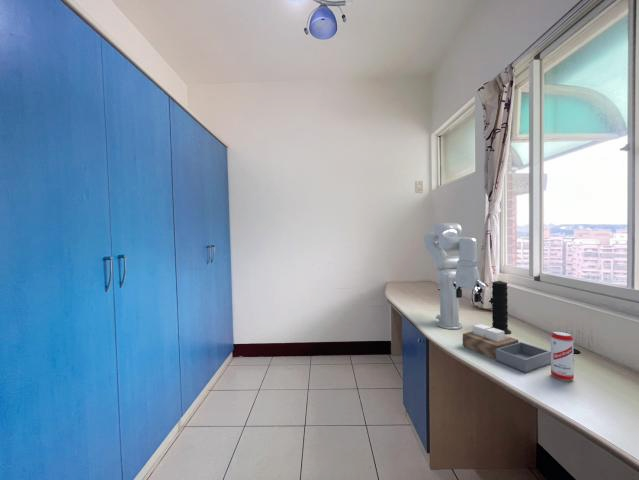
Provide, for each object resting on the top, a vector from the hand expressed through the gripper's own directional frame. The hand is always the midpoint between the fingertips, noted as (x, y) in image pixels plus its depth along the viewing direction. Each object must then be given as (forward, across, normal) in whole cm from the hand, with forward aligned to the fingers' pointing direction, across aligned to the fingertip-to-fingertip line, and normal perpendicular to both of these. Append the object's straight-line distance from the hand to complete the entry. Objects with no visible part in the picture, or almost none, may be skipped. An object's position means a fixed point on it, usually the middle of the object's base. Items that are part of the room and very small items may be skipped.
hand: (467, 299), depth 136 cm
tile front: (+14, +13, 0) cm, 19 cm away
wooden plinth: (+20, +11, 0) cm, 23 cm away
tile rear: (+14, +7, 0) cm, 16 cm away
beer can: (+20, +38, -1) cm, 43 cm away
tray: (+20, +25, -1) cm, 32 cm away
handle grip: (+21, -2, +27) cm, 34 cm away
